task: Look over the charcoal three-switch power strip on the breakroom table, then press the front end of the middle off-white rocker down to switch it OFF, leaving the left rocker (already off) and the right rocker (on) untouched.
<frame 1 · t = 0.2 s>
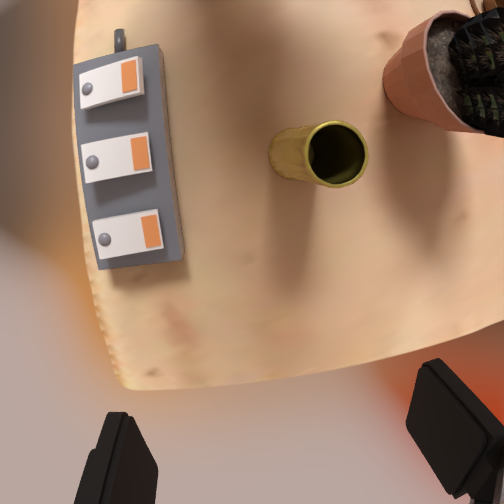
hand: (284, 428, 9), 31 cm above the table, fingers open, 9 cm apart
vase: (294, 154, 37), on the table
power strip: (129, 157, 35), on the table
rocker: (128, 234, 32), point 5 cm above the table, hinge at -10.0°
potted plant: (409, 85, 35), on the table
rocker mid: (116, 157, 30), point 5 cm above the table, hinge at -10.0°
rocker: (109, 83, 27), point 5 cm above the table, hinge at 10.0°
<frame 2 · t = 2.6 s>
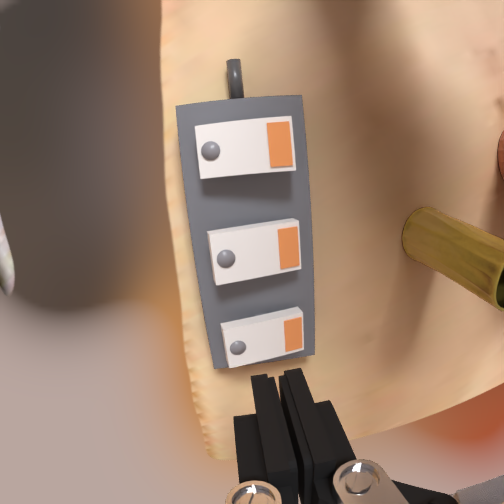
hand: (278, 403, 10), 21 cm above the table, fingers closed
vase: (422, 233, 32), on the table
power strip: (249, 234, 30), on the table
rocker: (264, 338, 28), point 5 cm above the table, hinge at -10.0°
rocker mid: (256, 251, 25), point 5 cm above the table, hinge at -10.0°
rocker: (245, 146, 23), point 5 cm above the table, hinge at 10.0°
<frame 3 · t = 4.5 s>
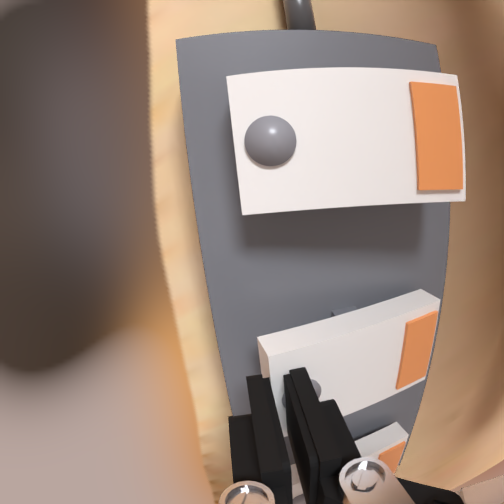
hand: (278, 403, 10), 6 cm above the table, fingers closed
power strip: (319, 305, 16), on the table
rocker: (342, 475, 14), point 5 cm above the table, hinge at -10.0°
rocker mid: (357, 365, 11), point 5 cm above the table, hinge at -9.8°, touching gripper
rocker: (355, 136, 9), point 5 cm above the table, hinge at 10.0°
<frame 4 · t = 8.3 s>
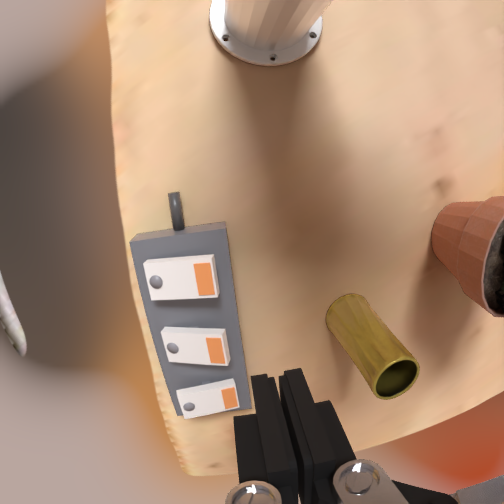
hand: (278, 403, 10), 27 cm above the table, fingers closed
vase: (347, 314, 41), on the table
power strip: (197, 323, 39), on the table
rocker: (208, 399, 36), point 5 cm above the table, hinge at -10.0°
potted plant: (453, 232, 39), on the table
rocker mid: (195, 346, 34), point 5 cm above the table, hinge at 16.5°
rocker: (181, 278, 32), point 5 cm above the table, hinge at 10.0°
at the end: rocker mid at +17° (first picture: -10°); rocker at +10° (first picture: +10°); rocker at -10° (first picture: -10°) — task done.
